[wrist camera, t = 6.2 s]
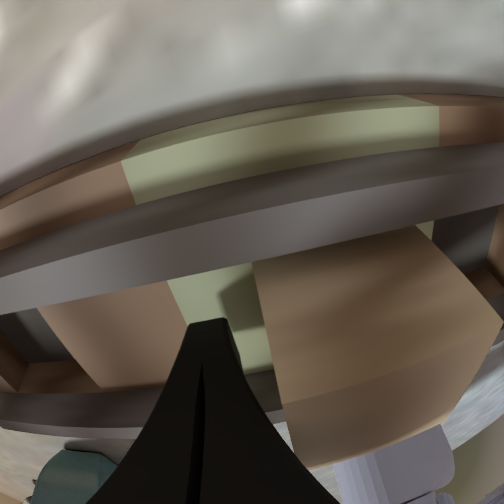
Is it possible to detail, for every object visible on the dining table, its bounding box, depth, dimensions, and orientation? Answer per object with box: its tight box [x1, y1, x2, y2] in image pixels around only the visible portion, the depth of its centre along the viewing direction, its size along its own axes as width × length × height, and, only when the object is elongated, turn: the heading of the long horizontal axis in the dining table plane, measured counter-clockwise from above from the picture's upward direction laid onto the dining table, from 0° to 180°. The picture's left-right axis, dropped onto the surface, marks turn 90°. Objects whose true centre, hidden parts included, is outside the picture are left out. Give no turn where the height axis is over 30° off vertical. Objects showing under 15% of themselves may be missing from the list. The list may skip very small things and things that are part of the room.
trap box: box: [0, 94, 504, 439], centre depth 11 cm, size 32×12×4 cm, turn 101°
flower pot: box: [30, 450, 117, 504], centre depth 20 cm, size 9×9×9 cm
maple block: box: [252, 225, 504, 470], centre depth 8 cm, size 5×5×5 cm
